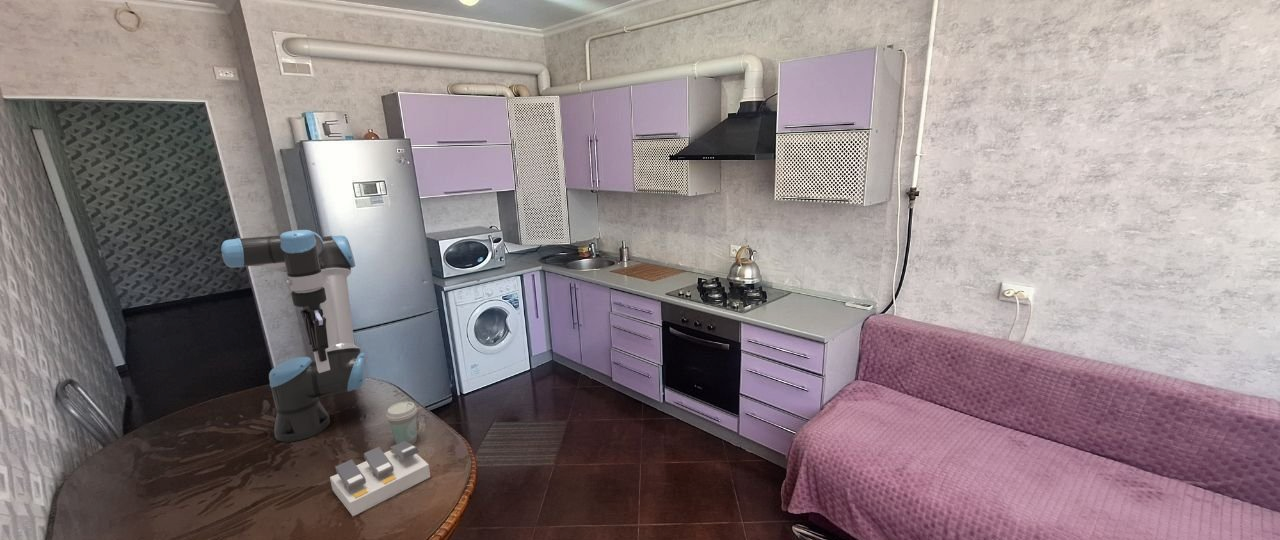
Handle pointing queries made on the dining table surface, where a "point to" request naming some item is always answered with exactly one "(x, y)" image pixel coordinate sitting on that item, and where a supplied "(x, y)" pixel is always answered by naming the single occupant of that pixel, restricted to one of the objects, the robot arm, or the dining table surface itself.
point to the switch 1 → (350, 475)
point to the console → (381, 482)
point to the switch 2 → (378, 462)
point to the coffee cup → (403, 422)
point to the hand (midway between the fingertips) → (324, 370)
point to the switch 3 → (404, 449)
